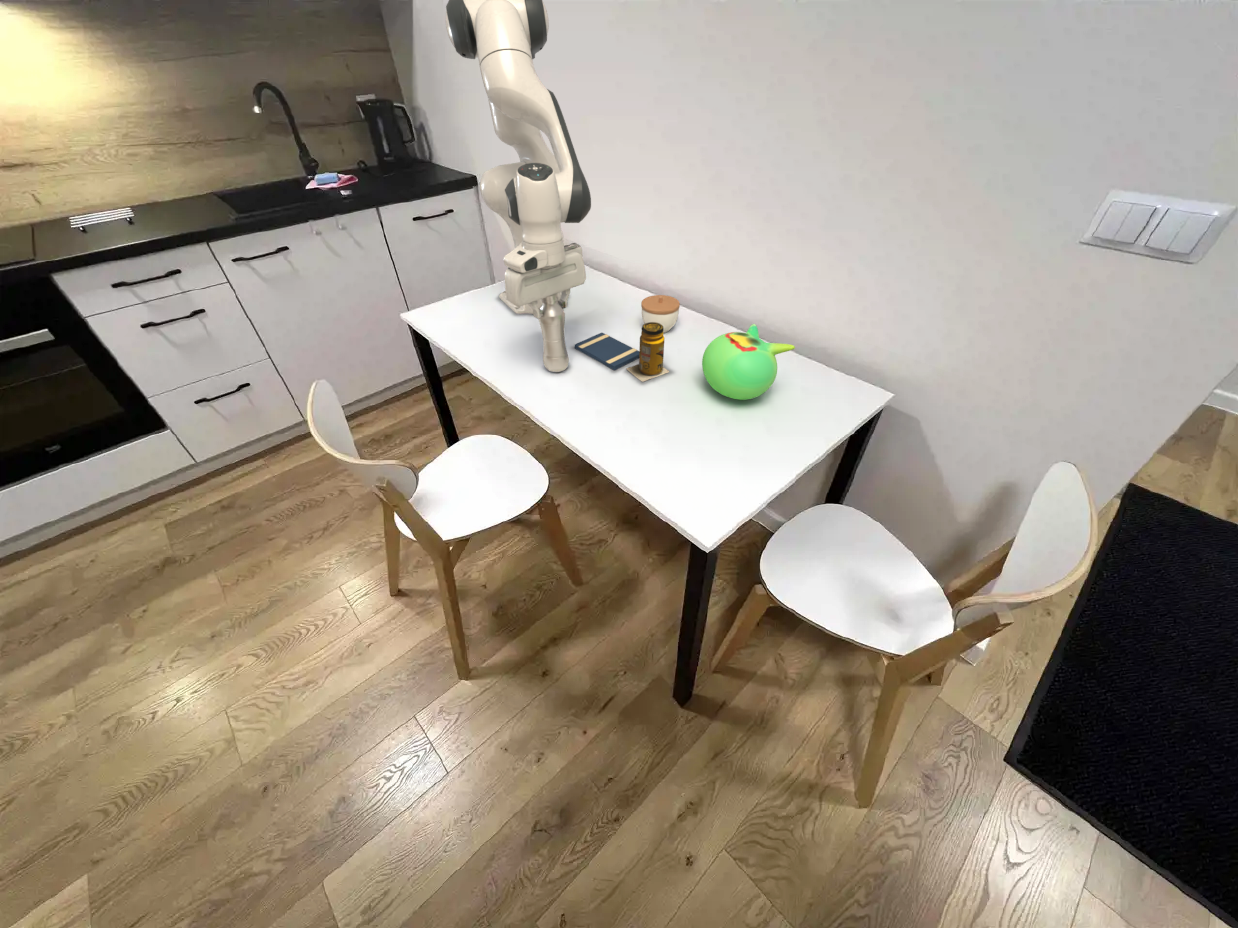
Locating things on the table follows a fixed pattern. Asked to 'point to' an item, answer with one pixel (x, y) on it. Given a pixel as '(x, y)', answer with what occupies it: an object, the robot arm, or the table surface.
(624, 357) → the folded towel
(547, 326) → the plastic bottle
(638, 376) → the condiment
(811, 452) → the table surface
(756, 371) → the toy bird
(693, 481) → the table surface
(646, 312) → the trinket box
